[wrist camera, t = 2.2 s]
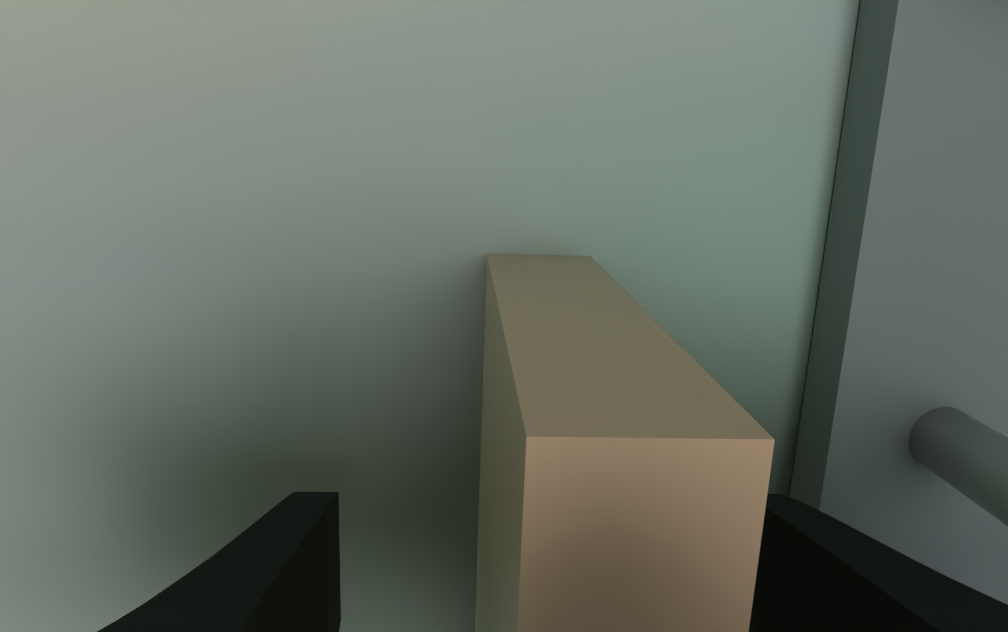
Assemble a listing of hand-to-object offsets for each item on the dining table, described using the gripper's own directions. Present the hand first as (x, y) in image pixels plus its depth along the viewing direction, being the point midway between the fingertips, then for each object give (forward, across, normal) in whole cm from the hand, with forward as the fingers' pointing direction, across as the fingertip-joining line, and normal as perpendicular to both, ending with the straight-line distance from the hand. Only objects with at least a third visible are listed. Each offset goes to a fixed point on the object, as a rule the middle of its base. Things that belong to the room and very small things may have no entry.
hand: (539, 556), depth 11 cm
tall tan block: (+2, 0, 0) cm, 2 cm away
